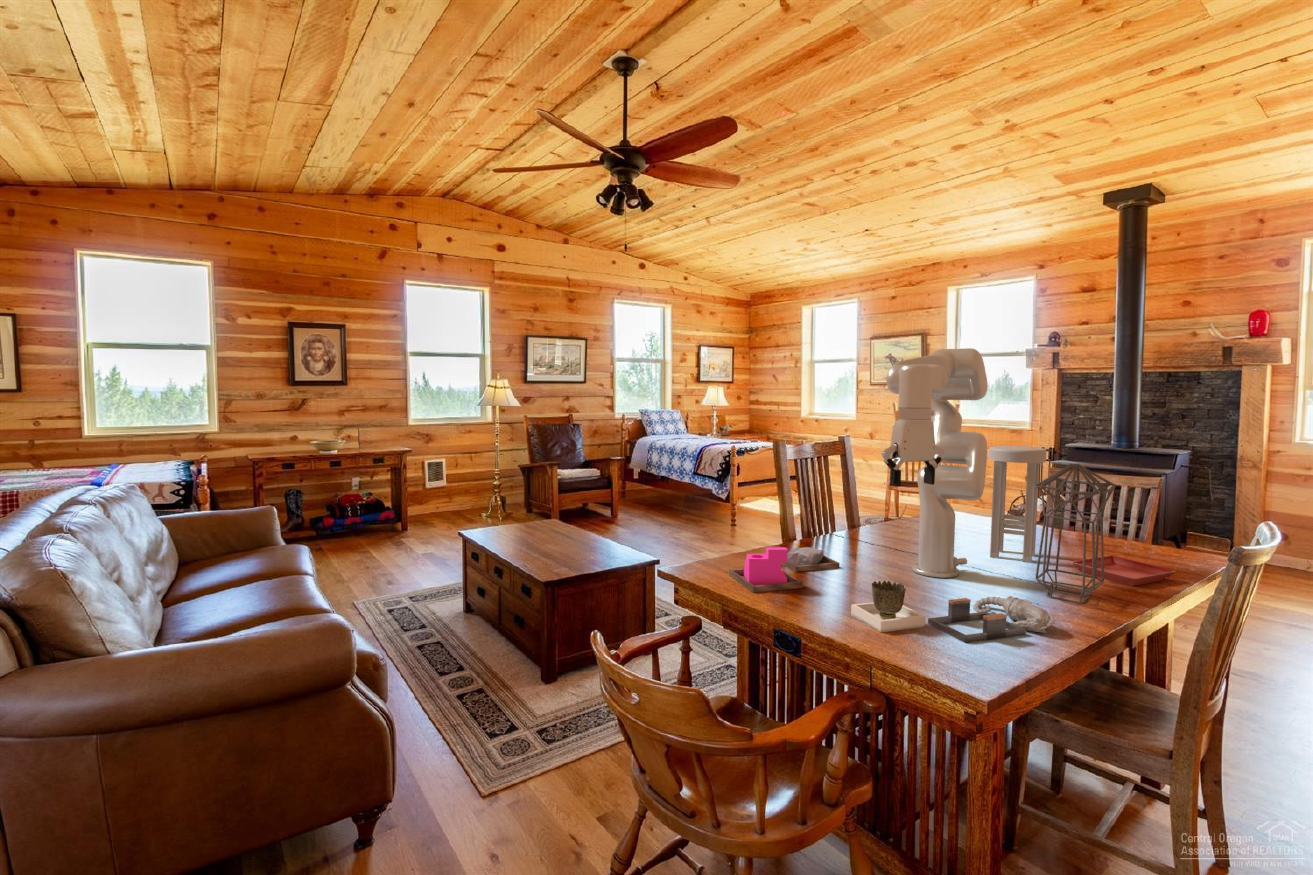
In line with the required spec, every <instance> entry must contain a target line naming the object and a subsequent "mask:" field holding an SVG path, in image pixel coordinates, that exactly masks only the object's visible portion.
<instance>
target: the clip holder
mask: <svg viewBox="0 0 1313 875" xmlns="http://www.w3.org/2000/svg"><path fill="white" fill-rule="evenodd" d="M947 603H948V606H947V608H948V609H947V616H946V615H945V616H937V617H928V618H927V624H928V625H930V626H932V627H934V628H936V629H938V630H940V631H942V632H944V633H945V634H948V635H950V636H951V637H953V638H955V639H957V640H959V641H961V642H963V643H965V644H968V643H977V642H984V641H992V640H997V639H1006V638H1013V637H1020V636H1022V637H1023V636H1026V635H1027V631H1026V629H1024V628H1021V627H1019V626H1017V625H1015V624H1012V623H1011V622H1010V621H1008V620H1007V618H1008V616H1007V615H1006V613H1002V612H1000V613H989V612H971V599H969V598H967V597H963V598H953V599H948V600H947ZM978 620H979V621H980V620H982V632H978V633H970V634H964V633H962V632H960V631H958V630H957V629H955V628H953V627H951V626H949V625H947V624H952V623H961V622H969V621H978Z"/></svg>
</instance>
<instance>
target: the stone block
mask: <svg viewBox="0 0 1313 875" xmlns="http://www.w3.org/2000/svg"><path fill="white" fill-rule="evenodd" d="M823 556H825V555H824V549H818V548H814V547H808V546H805V547H797V548H794V549H791V550H790V552H789V553H788V556H787V561H789V562H791V563H792V564H794V565H796V566H801V565H813V564H820V562H823V561H822V560H823Z"/></svg>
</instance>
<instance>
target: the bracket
mask: <svg viewBox="0 0 1313 875" xmlns="http://www.w3.org/2000/svg"><path fill="white" fill-rule="evenodd" d="M765 550H766V551H765V553H747V554H746V558H745V564H744V566H743V567H744V568H743V569H744V574H743V576H744V579H746V580H747V581H749V582H750V583H751V584H753V585H754V586H758V585H768V584H779V583H788V580H787V577H786V575H785V574H784V572H785V571H784V570H783V569H782V564H781V562H787V556H788V551H789V550H788V548H787V547H783V546H779V547H778V546H777V547H776V546H775V547H774V546H773V547H770V546H769V547H768V546H767V547H766V549H765ZM783 571H784V572H783Z"/></svg>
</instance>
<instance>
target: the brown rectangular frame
mask: <svg viewBox="0 0 1313 875" xmlns="http://www.w3.org/2000/svg"><path fill="white" fill-rule="evenodd" d="M790 551H791V550H790ZM790 551H789V550H788V553H789V552H790ZM821 562H824V563H818V564H813V565H801V566H796V565H794V564H792V563H791V562H789V561H787V562H781V565H783V566H784V567H787V568H788V569H790V570H792V571H794V572H808V571H821V570H830V569H840V562H839V561H836V560H834V559H832V558H830V557H828V556H826V555H824V556H823V560H822V561H821Z"/></svg>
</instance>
